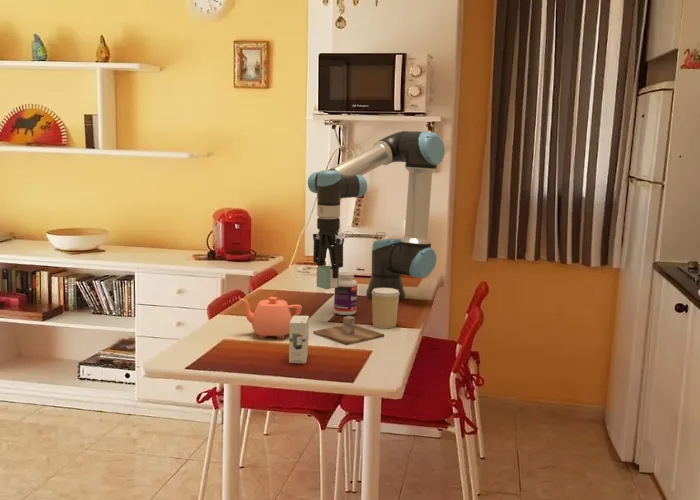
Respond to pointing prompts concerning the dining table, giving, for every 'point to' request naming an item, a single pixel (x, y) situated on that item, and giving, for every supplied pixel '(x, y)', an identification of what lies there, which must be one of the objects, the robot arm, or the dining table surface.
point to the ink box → (298, 339)
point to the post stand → (348, 332)
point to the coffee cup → (385, 307)
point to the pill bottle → (345, 295)
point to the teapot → (271, 317)
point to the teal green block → (325, 277)
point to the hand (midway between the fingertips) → (327, 285)
